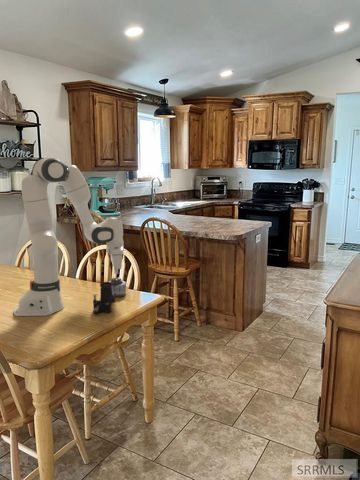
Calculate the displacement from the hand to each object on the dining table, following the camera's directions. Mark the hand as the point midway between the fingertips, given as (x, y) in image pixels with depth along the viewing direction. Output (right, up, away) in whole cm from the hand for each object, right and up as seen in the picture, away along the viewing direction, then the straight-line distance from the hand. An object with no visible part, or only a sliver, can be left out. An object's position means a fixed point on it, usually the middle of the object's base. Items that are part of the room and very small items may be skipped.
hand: (116, 273), depth 205 cm
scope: (-2, -17, -22) cm, 27 cm away
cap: (0, -8, +2) cm, 8 cm away
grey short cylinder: (0, -12, +2) cm, 12 cm away
